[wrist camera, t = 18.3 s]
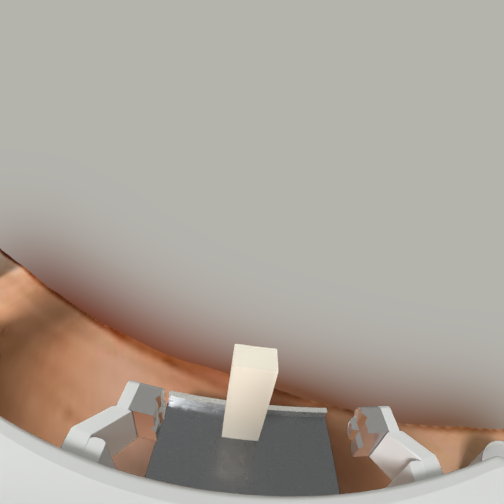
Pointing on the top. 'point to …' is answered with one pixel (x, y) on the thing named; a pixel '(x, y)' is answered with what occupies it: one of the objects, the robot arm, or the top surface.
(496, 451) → the teacup
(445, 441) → the top surface
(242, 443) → the flat grey white box
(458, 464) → the top surface
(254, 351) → the tea box
